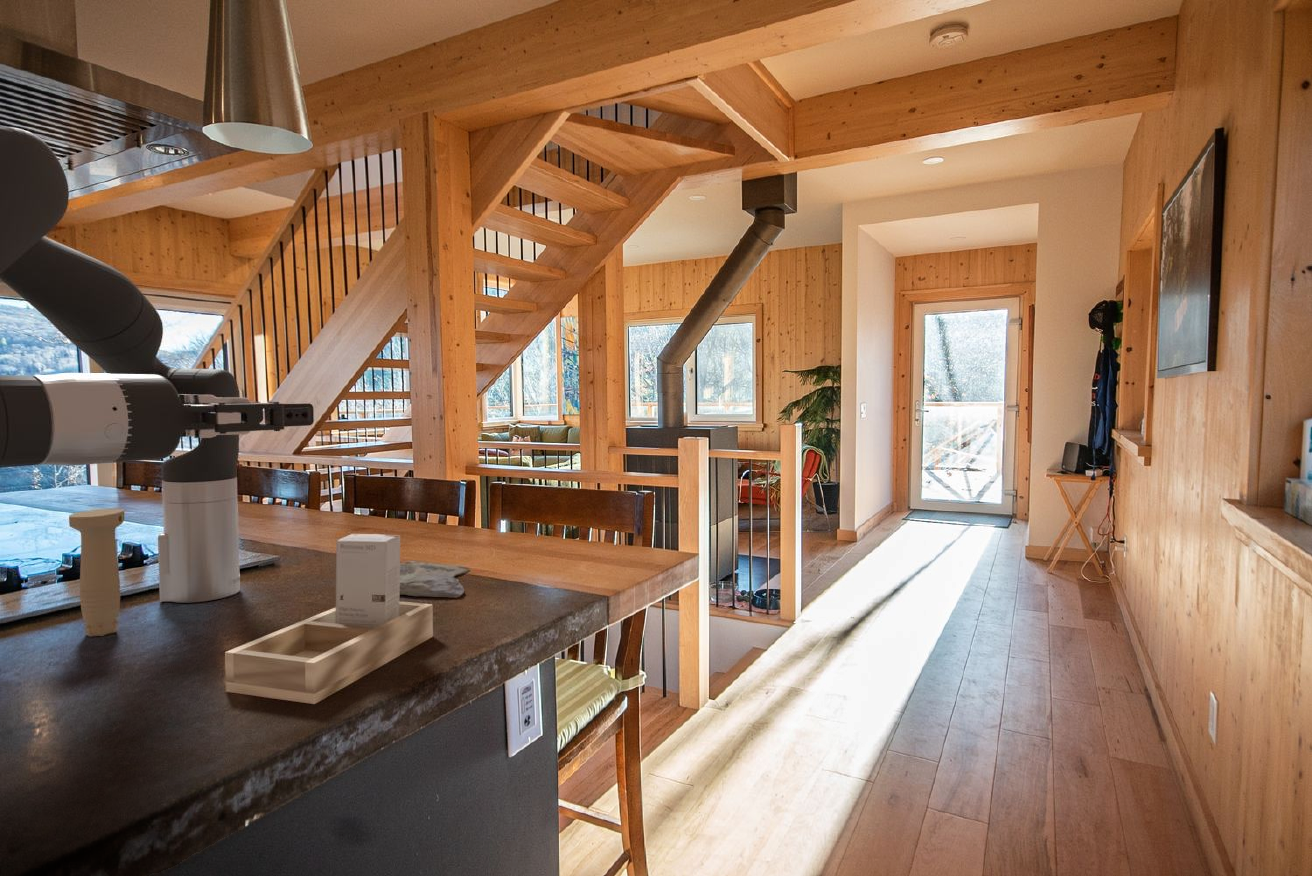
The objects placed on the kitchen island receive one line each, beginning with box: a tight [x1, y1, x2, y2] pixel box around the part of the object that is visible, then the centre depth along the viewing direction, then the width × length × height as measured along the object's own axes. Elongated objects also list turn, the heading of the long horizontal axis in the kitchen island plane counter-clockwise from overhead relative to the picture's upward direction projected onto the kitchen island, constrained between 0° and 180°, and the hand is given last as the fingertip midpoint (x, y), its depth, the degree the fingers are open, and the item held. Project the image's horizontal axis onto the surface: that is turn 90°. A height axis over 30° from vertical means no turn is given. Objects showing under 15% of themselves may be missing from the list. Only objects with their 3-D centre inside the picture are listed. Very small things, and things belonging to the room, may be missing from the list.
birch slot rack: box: [224, 600, 434, 705], centre depth 78 cm, size 20×10×4 cm, turn 165°
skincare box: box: [335, 533, 402, 628], centre depth 82 cm, size 6×4×12 cm
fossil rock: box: [399, 560, 471, 599], centre depth 112 cm, size 18×15×2 cm
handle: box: [68, 508, 125, 637], centre depth 86 cm, size 5×6×15 cm
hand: (285, 413), depth 73 cm, fingers open, 8 cm apart
